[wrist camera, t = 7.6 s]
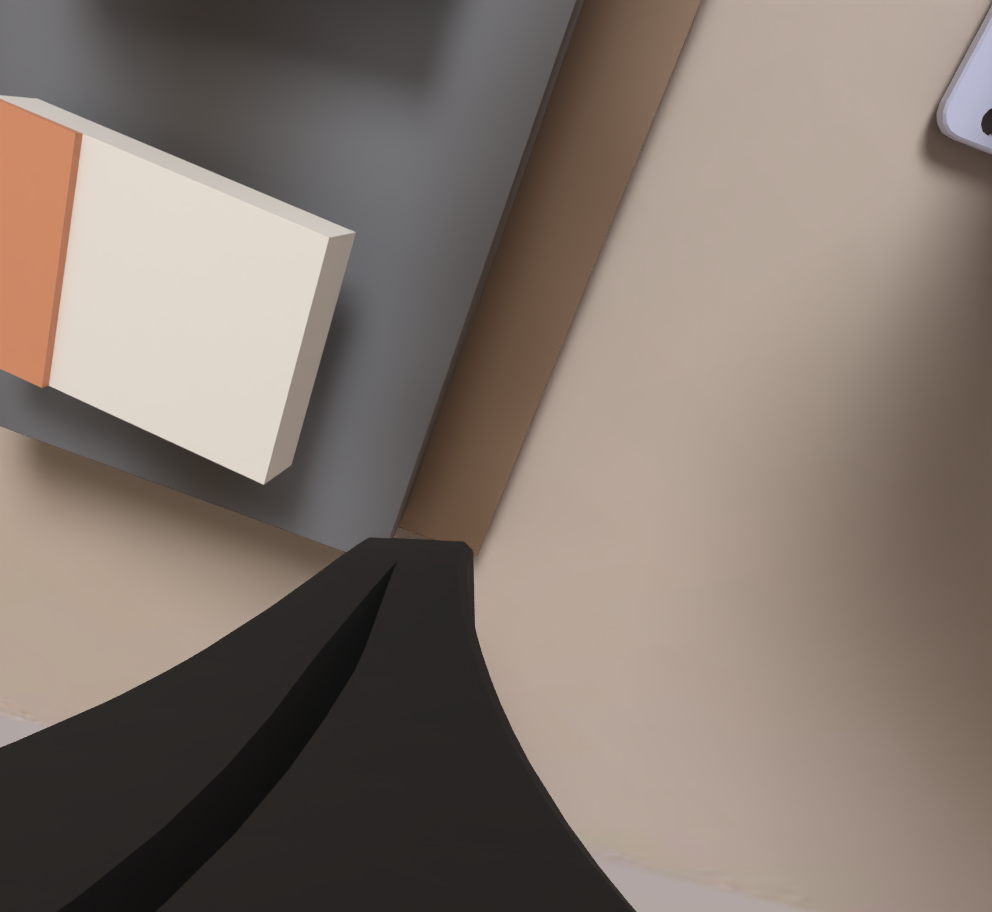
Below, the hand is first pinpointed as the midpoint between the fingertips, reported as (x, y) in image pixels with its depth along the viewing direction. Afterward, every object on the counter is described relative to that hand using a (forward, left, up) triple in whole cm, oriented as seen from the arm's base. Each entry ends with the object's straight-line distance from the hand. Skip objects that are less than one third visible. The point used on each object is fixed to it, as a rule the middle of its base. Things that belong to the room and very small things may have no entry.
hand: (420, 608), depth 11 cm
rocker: (+6, -1, -5) cm, 8 cm away
